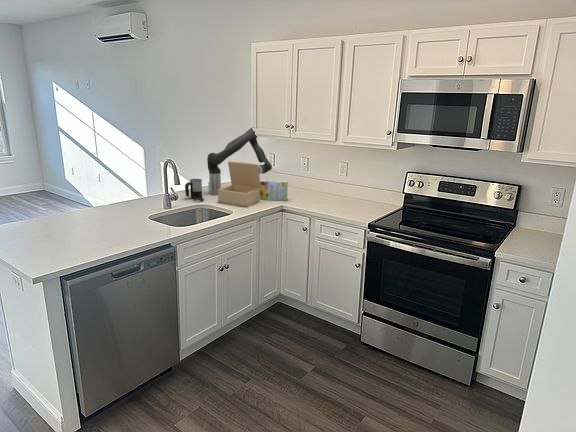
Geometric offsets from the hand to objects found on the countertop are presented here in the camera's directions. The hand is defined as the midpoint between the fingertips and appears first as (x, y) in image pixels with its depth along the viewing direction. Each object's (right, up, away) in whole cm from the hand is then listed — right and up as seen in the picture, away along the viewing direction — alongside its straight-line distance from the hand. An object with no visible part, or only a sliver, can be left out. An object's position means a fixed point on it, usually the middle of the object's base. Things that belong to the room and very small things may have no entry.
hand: (244, 173), depth 299 cm
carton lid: (0, -1, -1) cm, 1 cm away
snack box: (+22, -20, +9) cm, 31 cm away
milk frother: (-37, -20, +4) cm, 42 cm away
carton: (-4, -22, -1) cm, 22 cm away
